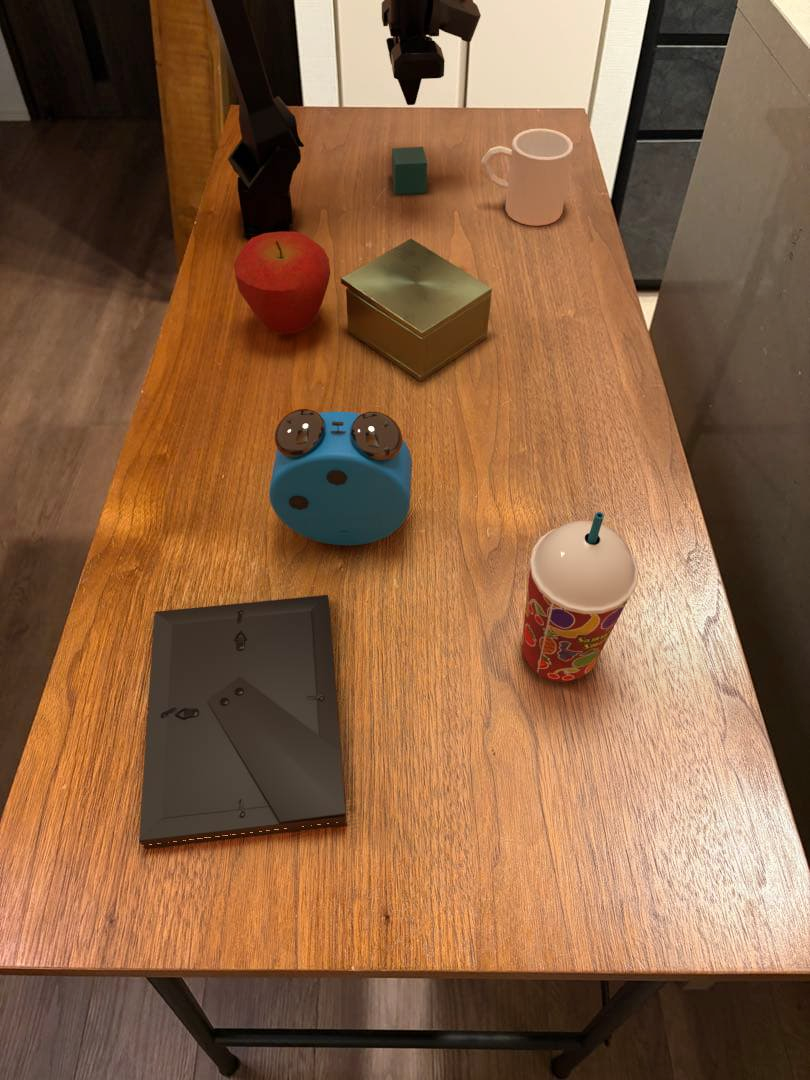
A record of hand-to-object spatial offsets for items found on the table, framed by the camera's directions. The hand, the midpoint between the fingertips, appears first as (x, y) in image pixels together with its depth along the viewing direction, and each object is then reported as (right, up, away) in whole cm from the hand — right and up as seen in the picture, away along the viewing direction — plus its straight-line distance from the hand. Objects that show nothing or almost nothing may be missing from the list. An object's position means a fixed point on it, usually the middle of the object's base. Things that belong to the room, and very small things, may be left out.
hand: (410, 103), depth 115 cm
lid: (0, -30, -16) cm, 34 cm away
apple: (-15, -33, -10) cm, 38 cm away
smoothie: (+13, -70, -38) cm, 80 cm away
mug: (+16, -12, +6) cm, 21 cm away
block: (0, -7, +10) cm, 12 cm away
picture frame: (-14, -75, -42) cm, 87 cm away
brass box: (+1, -34, -11) cm, 36 cm away
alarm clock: (-7, -58, -29) cm, 65 cm away
